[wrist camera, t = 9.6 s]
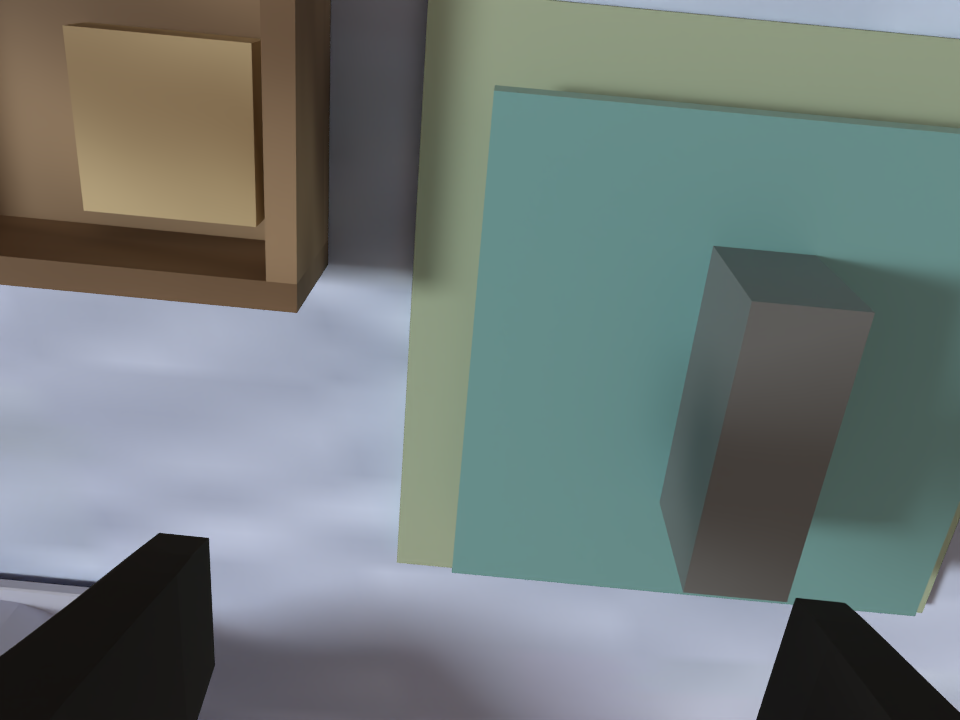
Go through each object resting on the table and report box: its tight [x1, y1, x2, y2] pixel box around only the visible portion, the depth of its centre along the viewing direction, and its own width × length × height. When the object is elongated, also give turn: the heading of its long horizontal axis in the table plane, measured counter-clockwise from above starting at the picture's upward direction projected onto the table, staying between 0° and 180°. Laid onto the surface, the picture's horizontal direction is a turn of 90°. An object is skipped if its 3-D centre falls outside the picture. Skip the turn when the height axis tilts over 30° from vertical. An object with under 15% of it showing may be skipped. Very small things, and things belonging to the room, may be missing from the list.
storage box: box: [0, 0, 331, 313], centre depth 16 cm, size 10×10×3 cm
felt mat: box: [397, 0, 960, 613], centre depth 20 cm, size 14×14×1 cm
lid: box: [452, 85, 960, 616], centre depth 17 cm, size 11×11×5 cm
